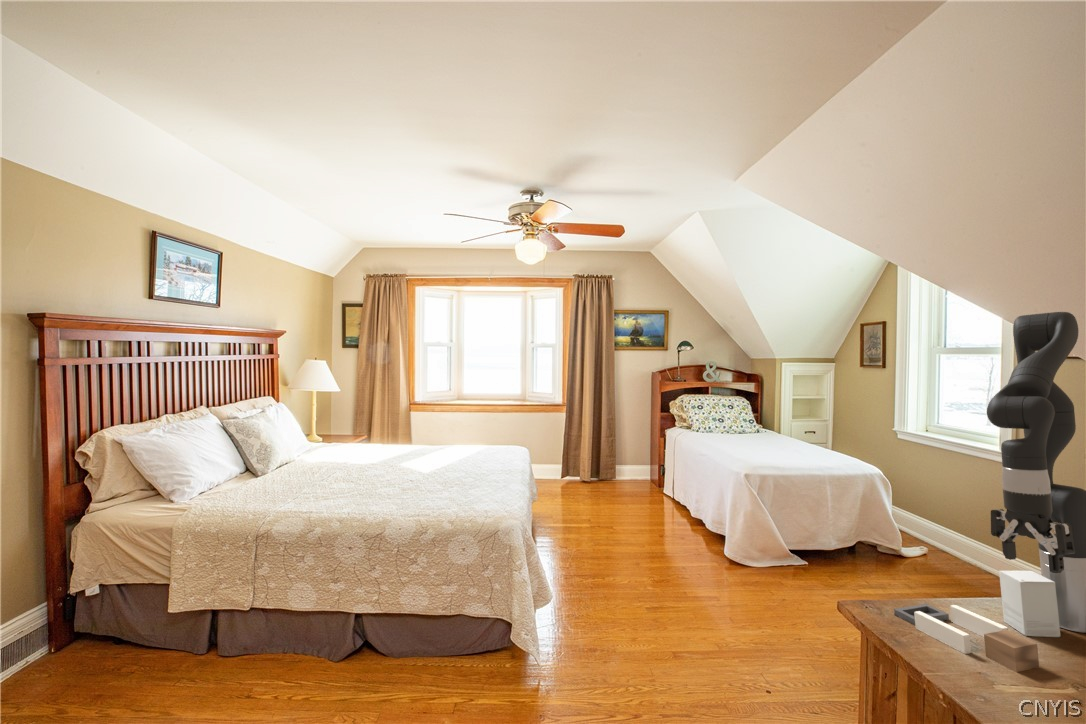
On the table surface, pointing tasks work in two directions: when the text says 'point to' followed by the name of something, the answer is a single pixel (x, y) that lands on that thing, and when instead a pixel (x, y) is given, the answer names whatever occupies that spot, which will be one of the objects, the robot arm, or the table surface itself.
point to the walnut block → (1011, 650)
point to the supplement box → (1029, 603)
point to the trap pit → (909, 616)
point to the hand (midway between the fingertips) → (1032, 565)
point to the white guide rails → (954, 635)
